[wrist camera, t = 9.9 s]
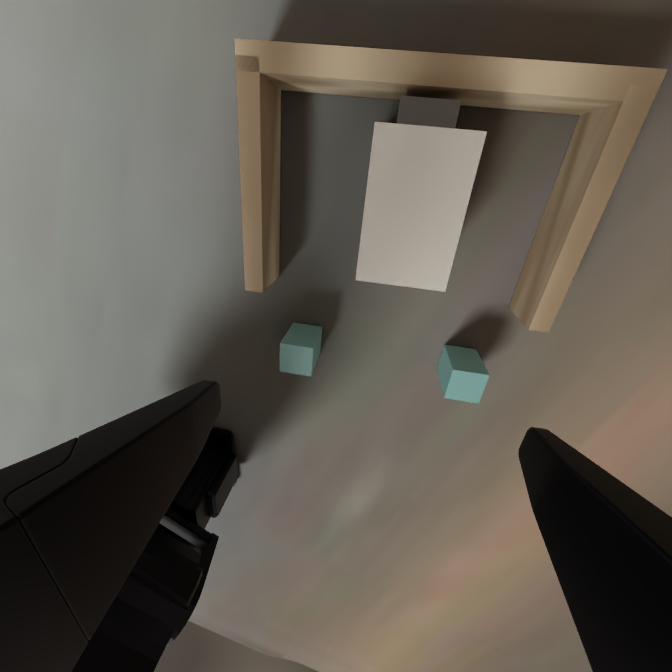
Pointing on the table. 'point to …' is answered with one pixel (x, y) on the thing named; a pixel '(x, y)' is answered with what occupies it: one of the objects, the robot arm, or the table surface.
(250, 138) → the open wooden frame
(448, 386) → the teal block pair
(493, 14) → the table surface
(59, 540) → the robot arm
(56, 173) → the table surface
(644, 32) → the table surface
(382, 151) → the block
